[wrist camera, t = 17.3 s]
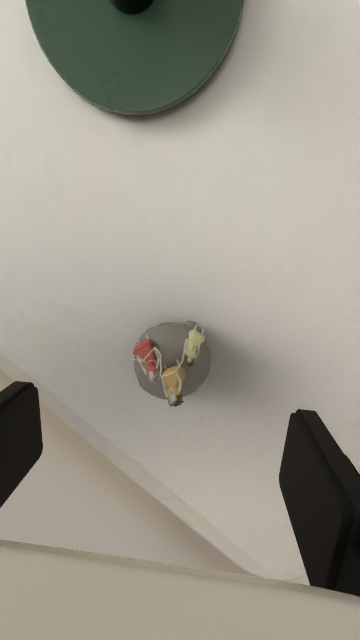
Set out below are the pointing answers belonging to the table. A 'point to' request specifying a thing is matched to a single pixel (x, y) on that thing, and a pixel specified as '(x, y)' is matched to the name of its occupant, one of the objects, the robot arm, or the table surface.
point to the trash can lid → (135, 48)
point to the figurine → (172, 360)
